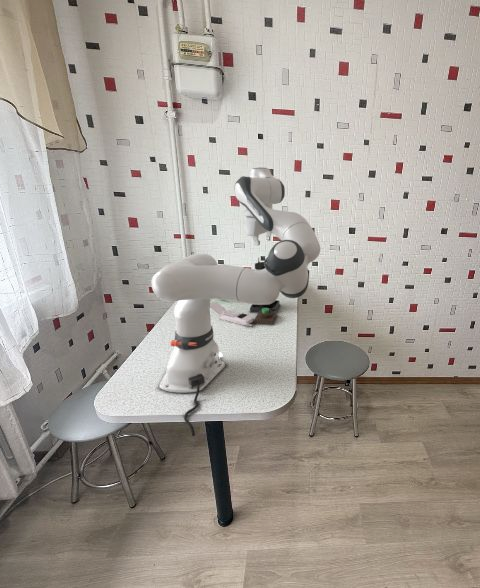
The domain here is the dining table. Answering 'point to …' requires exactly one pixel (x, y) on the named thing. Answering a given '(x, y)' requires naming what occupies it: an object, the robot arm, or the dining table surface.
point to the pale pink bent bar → (231, 315)
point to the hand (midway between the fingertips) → (262, 243)
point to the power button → (265, 310)
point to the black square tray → (256, 309)
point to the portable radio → (259, 267)
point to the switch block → (265, 318)
